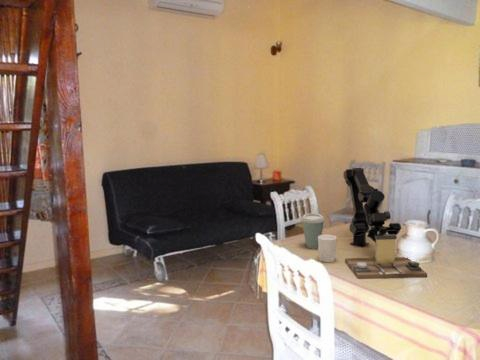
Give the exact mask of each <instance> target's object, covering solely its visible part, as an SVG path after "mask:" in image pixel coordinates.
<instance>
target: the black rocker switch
mask: <svg viewBox="0 0 480 360" xmlns="http://www.w3.org/2000/svg"><path fill="white" fill-rule="evenodd" d="M408 264H409V265H411V266H419V267H420V262H417V261H412V262H408Z"/></svg>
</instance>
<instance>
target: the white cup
mask: <svg viewBox="0 0 480 360" xmlns="http://www.w3.org/2000/svg"><path fill="white" fill-rule="evenodd" d="M337 243H338V236H336V235H332V234H322V235H319V236H318V248H317V249H318V250H317V251H318V259H319V261H321V262H323V263H333V262H335V261H336V254H337Z"/></svg>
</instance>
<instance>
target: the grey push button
mask: <svg viewBox="0 0 480 360" xmlns="http://www.w3.org/2000/svg"><path fill="white" fill-rule="evenodd" d="M357 267H358V268H361V269H365V268H367V263H365V262H357Z"/></svg>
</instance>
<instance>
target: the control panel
mask: <svg viewBox="0 0 480 360" xmlns="http://www.w3.org/2000/svg"><path fill="white" fill-rule="evenodd" d="M405 257H406V256H404V257H403V256H399V257H397V256H395V263H391V264H392V265H393V268H381V267H380V266H379V265H378V264H377V263H376V262H375V257H355V258H354V257H353V258H352V257H350V258H344V263H345V264H346V265H347V267H348V268H349V269H350V270H351V272H352V273H353V274H354V276H355V277H356V278H357V279H362V280H363V279H394V278H395V279H397V278H398V279H399V278H428V272H426V270H424V269H422V267H420V265H419V266H411V265H409V264H408V262H413V261H412V260H411V259H410V258H409V257H407V258H405ZM408 258H409V259H408ZM357 262H365V263H367V268H365V269H361V268H358V267H357Z"/></svg>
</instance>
